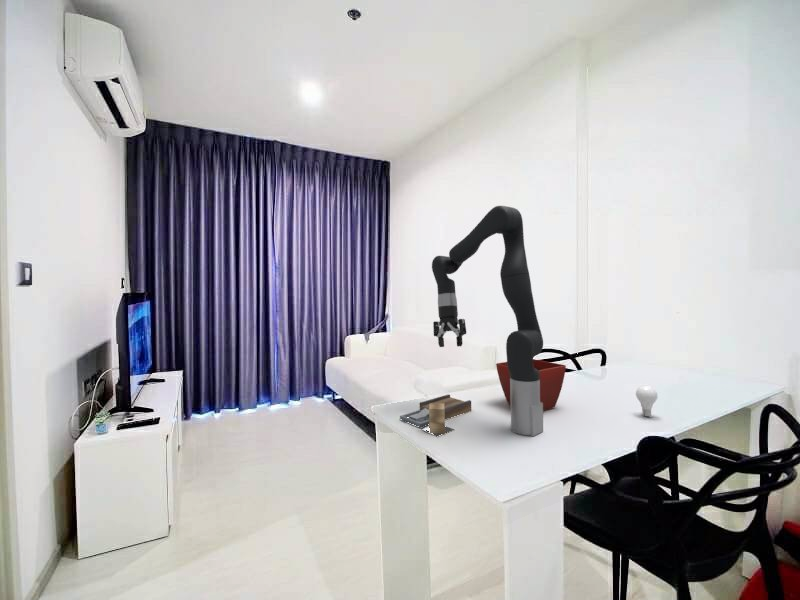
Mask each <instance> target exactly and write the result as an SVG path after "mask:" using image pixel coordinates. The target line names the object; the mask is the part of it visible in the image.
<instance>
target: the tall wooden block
mask: <svg viewBox="0 0 800 600" xmlns="http://www.w3.org/2000/svg"><path fill="white" fill-rule="evenodd" d="M445 424H446V420H445V411H444V403H430V404H429V425H428V426H429V428H430V433H442V434H443V435H446V434H445V426H446V425H445ZM430 433H429V434H430Z"/></svg>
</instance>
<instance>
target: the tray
mask: <svg viewBox="0 0 800 600" xmlns="http://www.w3.org/2000/svg"><path fill="white" fill-rule="evenodd" d="M421 411H422V410H420V409H418V410H415V411H412V412H408V413H406V414H405V413H404V414H402V415H399V420H400V419H402V420H404V421H406V422H409V423H411V424H414V425H416V426H419V427H423V426H425V425H428V424H429V418H428V419H427V420H424V421H421V422H417V421H415V420H412V419H410V418H407V417H409V416H411V415H414V414H418V413H419V412H421ZM404 421H403V422H404ZM406 422H405V423H406ZM409 423H408V424H409ZM411 424H410V425H411ZM414 425H413V426H414ZM416 426H415V427H416ZM428 426H429V425H428ZM423 428H424V427H423Z"/></svg>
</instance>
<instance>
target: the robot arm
mask: <svg viewBox="0 0 800 600" xmlns="http://www.w3.org/2000/svg"><path fill="white" fill-rule="evenodd" d="M496 234H499V235H502V238H503V243H504V255H503V260H502V262H501V268H500V273H499V274H500V283H501V288H502V292H503V295H504V297H505V299H506V300H507V303H508V305H509V306H510V308H511V309H512V311H513V314H514V315H515V316H514V317H515V320H516V324H517V325H516V326H517V330H515V331H513V332H511V333H510V334H509V335H508V336H507V339H506V343H505V349H506V362H507V366H508V370H509V372H510V398H511V406H510V430H511V431H512V432H514V433H515V434H519V435H523V436H531V437H535V436H537V435H539V434H541V433H543V432H544V410H543V403H542V402H540V373H539V371H538V370H537V369H535V368H534V366H533V359H534V358H533V357H536V356H537V355H540V354H541V352H542V351H543V347H544V339H543V335H542V331H541V328H540V325H539V319H538V317H537V313H536V312H537V311H536V305H535V301H534V297H533V296H534V295H533V291H532V289H533V288H532V282H531V277H530V271H529V266H528V261H527V256H526V255H527V254H526V248H525V239H524V237H525V236H524V223H523V216H522V214H521V212H520V211H519V210H518V209H517V208H515V207H511V206H506V205H496V206H494V207H492V209H490V210H489V211H488V212H487V213H486V214H485V215H484V216H483V218H482V219H481V220H480V221H479V222H478V223H477V224H476V226H475V227H474V228H473V229H472V230H471V231H470V232H469V233H468V234H467V235H466V236H465V237H464V238H463V239H462V240H460V241H459V242H458V243H456V244H455V245H454V246H453V247H451V249H449V253H448V255H449V256H445V255H436V256H435V257H434V258H433V259H432V262H431V271H432V273H433V277H434V280H435V282H436V285H437V286H436V287H437V311H438V318H439V320H438V321H435V320H434V321H433V323H432V324H433V336H434V337H437V341H438V343H437V344H438V347H439V348H444V347H445V340H444V339H445V338H444V335H445V334H446V333H447V332H453V333H454V334H455V336H456V346H457V347H462V345H463V336H465V335H467V327H466V319H464V318H458V317H459V316H458V315H459V312H458V299H457V296H456V293H457V292H456V284H455V280H454V279H452V278H449V276H448V275H452V274H454V273H456V272H457V271H458V270H459V269H460V267H461V266H462V265H463V263H464V262H465V261H468V259H470V258H471V257H473V256H475V254H476V253H477V252H478V250H479V248H480V247H481V245H482V243H483V242H484V241H485V240H487V239H488V238H490V237H491V236H494V235H496ZM458 325H459V326H458Z"/></svg>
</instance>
